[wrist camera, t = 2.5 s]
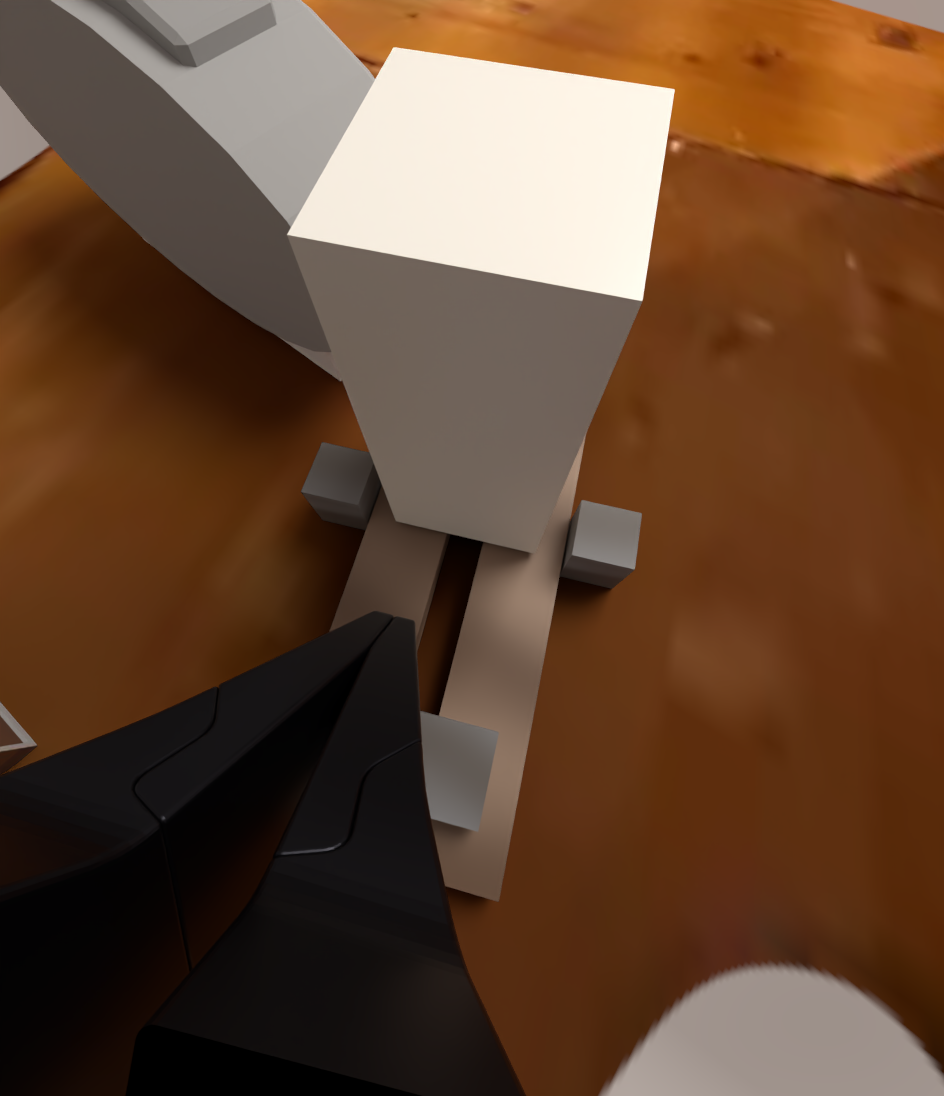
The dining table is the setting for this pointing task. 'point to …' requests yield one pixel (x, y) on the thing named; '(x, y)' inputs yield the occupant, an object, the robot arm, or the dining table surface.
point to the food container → (12, 741)
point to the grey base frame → (472, 643)
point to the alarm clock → (195, 130)
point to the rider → (482, 277)
